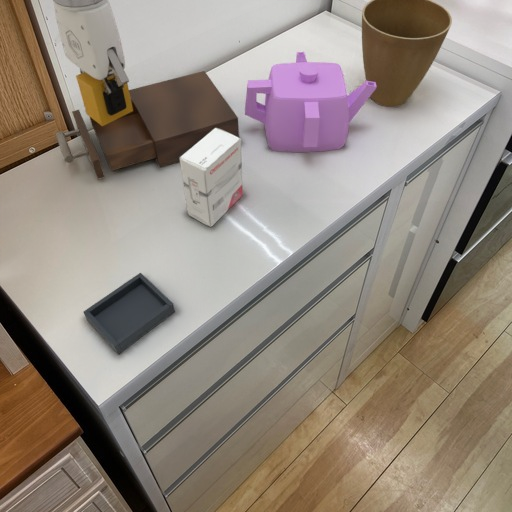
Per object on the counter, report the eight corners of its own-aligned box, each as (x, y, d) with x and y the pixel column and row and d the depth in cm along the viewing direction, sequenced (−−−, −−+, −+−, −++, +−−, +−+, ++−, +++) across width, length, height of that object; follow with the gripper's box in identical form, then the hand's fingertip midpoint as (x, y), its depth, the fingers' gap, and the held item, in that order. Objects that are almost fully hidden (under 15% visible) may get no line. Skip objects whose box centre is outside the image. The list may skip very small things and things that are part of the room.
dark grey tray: (118, 354, 67) (114, 346, 66) (86, 320, 71) (82, 311, 69) (175, 311, 71) (173, 303, 70) (142, 280, 75) (140, 272, 73)
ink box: (220, 183, 87) (216, 124, 78) (244, 195, 85) (243, 136, 76) (186, 215, 83) (177, 156, 73) (211, 228, 81) (205, 170, 72)
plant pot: (334, 99, 102) (345, 17, 89) (377, 66, 109) (392, -14, 96) (402, 130, 95) (424, 47, 83) (442, 93, 102) (468, 11, 90)
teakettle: (237, 132, 95) (235, 70, 86) (298, 91, 103) (302, 30, 94) (312, 176, 88) (318, 113, 78) (371, 128, 96) (383, 66, 86)
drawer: (73, 186, 86) (67, 168, 83) (55, 135, 94) (49, 117, 91) (176, 156, 90) (173, 138, 87) (150, 109, 98) (147, 91, 95)
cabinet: (159, 167, 90) (154, 141, 85) (133, 116, 99) (127, 90, 94) (239, 144, 93) (238, 117, 89) (206, 96, 102) (204, 70, 98)
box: (102, 126, 84) (91, 87, 79) (86, 114, 86) (75, 75, 81) (133, 111, 87) (125, 72, 82) (117, 99, 89) (108, 61, 84)
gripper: (22, -24, 74) (59, 92, 88) (90, 18, 66) (119, 138, 80) (69, -39, 77) (98, 74, 91) (139, -1, 69) (158, 117, 83)
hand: (107, 103), depth 85 cm, fingers closed on box, 4 cm apart
